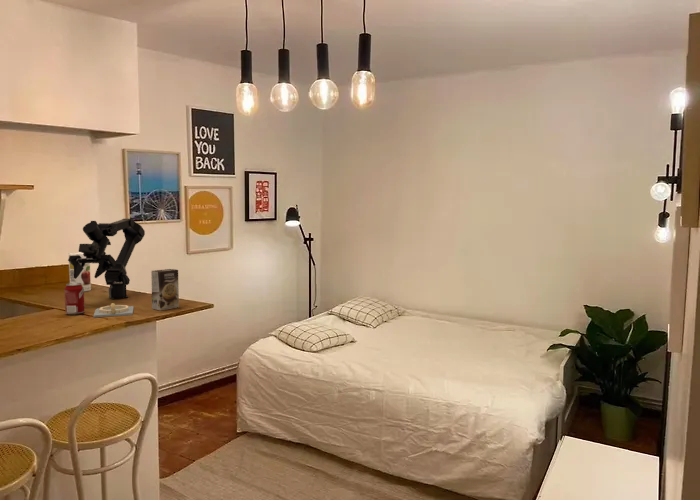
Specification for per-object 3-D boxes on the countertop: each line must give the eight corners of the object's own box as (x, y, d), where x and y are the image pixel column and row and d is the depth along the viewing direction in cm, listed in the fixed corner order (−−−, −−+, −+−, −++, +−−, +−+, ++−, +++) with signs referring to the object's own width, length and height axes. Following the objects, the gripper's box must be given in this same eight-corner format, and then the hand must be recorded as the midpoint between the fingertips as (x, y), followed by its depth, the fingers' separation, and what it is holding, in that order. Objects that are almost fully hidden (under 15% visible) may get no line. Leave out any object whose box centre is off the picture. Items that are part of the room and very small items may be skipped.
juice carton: (67, 292, 256) (65, 253, 254) (81, 289, 264) (79, 251, 262) (80, 293, 254) (78, 253, 252) (93, 290, 262) (92, 252, 260)
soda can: (76, 315, 205) (75, 285, 204) (61, 314, 207) (60, 284, 206) (88, 312, 212) (87, 282, 211) (73, 311, 213) (72, 282, 212)
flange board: (96, 310, 216) (96, 298, 215) (133, 307, 221) (133, 296, 220) (93, 317, 203) (92, 305, 202) (132, 314, 208) (132, 302, 207)
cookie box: (160, 310, 215) (159, 271, 214) (151, 308, 219) (150, 270, 218) (179, 307, 222) (178, 269, 221) (170, 305, 226) (169, 268, 225)
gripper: (68, 236, 221) (53, 267, 211) (109, 235, 218) (95, 266, 209) (82, 252, 229) (68, 282, 220) (121, 251, 227) (109, 281, 217)
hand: (85, 277), depth 216 cm, fingers open, 9 cm apart
